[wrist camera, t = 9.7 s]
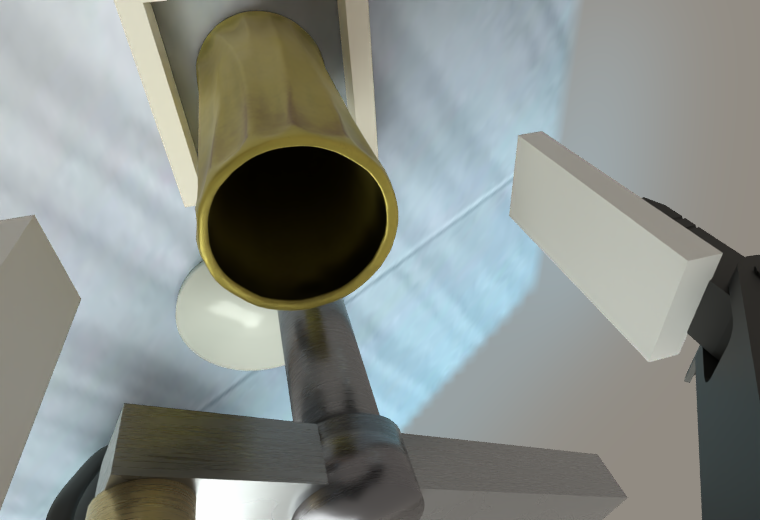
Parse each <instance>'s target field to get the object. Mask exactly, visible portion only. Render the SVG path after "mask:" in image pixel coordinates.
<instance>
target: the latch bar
mask: <svg viewBox="0 0 760 520" xmlns="http://www.w3.org/2000/svg"><path fill="white" fill-rule="evenodd" d="M626 499H627V496H626V495H625V493H624V492H623V490H622V489H621V488H620V486H619V485H618V484H617V482H616V480H615V479H614V478H613V476H612V475H611V473H610V472H609V470H608V469H607V468H606V466H605V465H604V463H603V462H602V460H601V459H600V457H599V456H598V455H597V454H587V453H578V452H570V451H560V450H551V449H542V448H531V447H523V446H514V445H505V444H496V443H487V442H477V441H468V440H459V439H450V438H440V437H431V436H422V435H413V434H404V433H401V432H400V429H399V428H398V426H397V425H396V424H395V423H394V422H393V421H391V420H390V419H388V418H386V417H383V416H380V415H376V414H368V413H355V414H347V415H342V416H338V417H334V418H331V419H328V420H325V421H323V422H321V423H319V424H311V423H302V422H293V421H284V420H274V419H265V418H256V417H247V416H238V415H228V414H219V413H210V412H201V411H191V410H182V409H173V408H164V407H155V406H145V405H136V404H127V403H124V405H123V408H122V410H121V413H120V416H119V418H118V421H117V424H116V426H115V429H114V432H113V435H112V437H111V440H110V443H109V445H108V448H107V451H106V453H105V456H104V459H103V461H102V465H101V470H100V474H99V479H98V484H97V488H96V493H95V498H93V500H92V501H91V502H90V504H89V506H88V509H87V514H86V518H85V520H602V519H603V518H605V517H606V516H607V515H608V514H609V513H611V512H612V511H613V510H614V509H615V508H616V507H618V506H619V505H620V504H621V503H622V502H623V501H625V500H626Z"/></svg>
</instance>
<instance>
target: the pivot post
mask: <svg viewBox="0 0 760 520" xmlns="http://www.w3.org/2000/svg"><path fill="white" fill-rule="evenodd" d="M277 312H278V319H279V326H280V333H281V340H282V347H283V354H284V361H285V368H286V375H287V382H288V389H289V396H290V403H291V410H292V417H293V422H302V423H311V424H319V423H321V422H323V421H325V420H328V419H331V418H334V417H338V416H342V415H347V414H355V413H368V414H376V415H379V412H378V408H377V405H376V402H375V399H374V396H373V393H372V389H371V386H370V383H369V380H368V377H367V374H366V371H365V367H364V364H363V361H362V358H361V355H360V352H359V348H358V345H357V342H356V339H355V336H354V333H353V329H352V326H351V323H350V320H349V317H348V314H347V311H346V307H345V304H344V301H343V298H341V299H339V300H337V301H334V302H331V303H328V304H325V305H322V306H318V307H315V308H311V309H306V310H296V311H282V310H277Z"/></svg>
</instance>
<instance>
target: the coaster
mask: <svg viewBox="0 0 760 520" xmlns="http://www.w3.org/2000/svg"><path fill="white" fill-rule="evenodd" d="M176 324H177V328H178V331H179V334H180V335H181V337H182V339H183V341H184V342H185V343H186V345H187V346H188V347H189V348H190V349H191V350H192V351H193V352H194V353H195V354H197V355H198V356H200V357H201V358H203V359H204V360H206V361H208V362H210V363H213V364H215V365H218V366H221V367H225V368H229V369H234V370H244V371H257V370H266V369H271V368H276V367H280V366H283V365H285V361H284V354H283V347H282V340H281V333H280V326H279V319H278V312H277V310H272V309H266V308H262V307H258V306H255V305H253V304H251V303H248V302H246V301H244V300H243V299H241V298H239V297H237V296H236V295H234V294H232V293H230V292H229V291H227V290H226V289H224V288H223V287H222V286H221V285H220V284H219V283H217V282H216V280H215V279H214V278H213V276H212V275H211V274H210V272H209V270H208V268H207V266H206V265H205V263H204V261H202V262H201V263H199V264H198V265H197V266H196V267H195V268H194V269H193V270H192V271H191V272H190V273H189V275H188V276H187V277H186V279H185V280H184V282H183V284H182V286H181V288H180V290H179V294H178V298H177V304H176Z"/></svg>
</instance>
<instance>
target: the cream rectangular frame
mask: <svg viewBox="0 0 760 520" xmlns="http://www.w3.org/2000/svg"><path fill="white" fill-rule="evenodd" d="M156 1H165V0H114V2H115V5H116V8H117V11H118V14H119V17H120V20H121V23H122V26H123V29H124V31H125V34H126V37H127V40H128V43H129V46H130V49H131V52H132V55H133V58H134V61H135V63H136V66H137V69H138V72H139V75H140V78H141V81H142V84H143V87H144V90H145V93H146V95H147V98H148V101H149V104H150V107H151V110H152V113H153V116H154V119H155V122H156V125H157V127H158V130H159V133H160V136H161V139H162V142H163V145H164V148H165V151H166V154H167V156H168V159H169V162H170V165H171V168H172V171H173V174H174V177H175V180H176V183H177V186H178V188H179V191H180V194H181V197H182V200H183V203H184V206H185V207H190V206H196V201H197V191H198V156H197V153H196V150H195V146H194V143H193V140H192V136H191V133H190V130H189V127H188V123H187V120H186V117H185V113H184V110H183V107H182V104H181V100H180V97H179V94H178V90H177V87H176V84H175V81H174V77H173V74H172V71H171V67H170V64H169V61H168V58H167V54H166V51H165V48H164V44H163V41H162V38H161V34H160V31H159V28H158V25H157V21H156V18H155V15H154V11H153V8H152V5H151V2H156ZM337 5H338V15H339V25H340V36H341V46H342V56H343V66H344V77H345V87H346V97H347V107H348V111H349V113H350V115H351V116H352V118H353V120H354V121H355V123H356V125H357V126H358V128H359V129H360V131H361V133H362V135H363V136H364V138H365V139H366V141H367V143H368V144H369V146H370V147H371V149H372V151H373V152H374V154H375V156H376V157H377V159H378V148H377V132H376V116H375V100H374V85H373V69H372V53H371V37H370V22H369V6H368V0H337Z"/></svg>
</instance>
